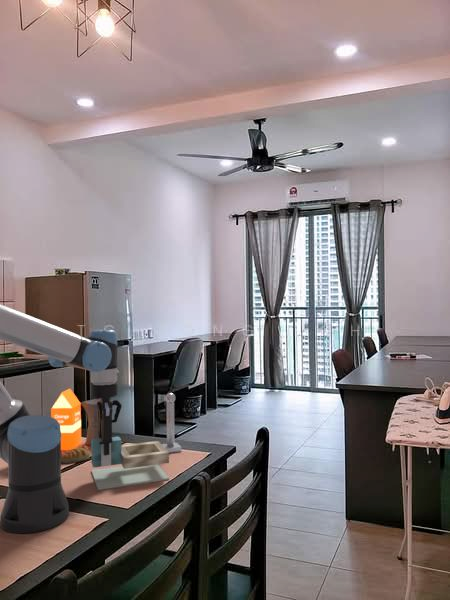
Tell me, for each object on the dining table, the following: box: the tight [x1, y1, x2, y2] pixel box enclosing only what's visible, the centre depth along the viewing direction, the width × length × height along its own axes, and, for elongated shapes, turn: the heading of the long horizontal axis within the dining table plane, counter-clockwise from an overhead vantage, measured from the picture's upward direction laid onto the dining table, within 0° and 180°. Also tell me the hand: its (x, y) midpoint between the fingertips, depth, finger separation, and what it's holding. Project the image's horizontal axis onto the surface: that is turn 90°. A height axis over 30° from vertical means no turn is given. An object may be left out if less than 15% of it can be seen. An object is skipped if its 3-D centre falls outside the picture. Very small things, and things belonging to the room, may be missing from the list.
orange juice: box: [50, 388, 82, 451], centre depth 174 cm, size 8×9×20 cm
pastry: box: [61, 445, 91, 464], centre depth 160 cm, size 9×7×4 cm
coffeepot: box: [80, 398, 123, 446], centre depth 179 cm, size 15×9×18 cm, turn 86°
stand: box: [160, 392, 183, 454], centre depth 169 cm, size 6×6×20 cm
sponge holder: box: [91, 436, 170, 469], centre depth 144 cm, size 21×13×7 cm, turn 112°
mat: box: [90, 464, 170, 491], centre depth 144 cm, size 20×16×1 cm
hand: (105, 462), depth 142 cm, fingers closed on sponge holder, 4 cm apart
